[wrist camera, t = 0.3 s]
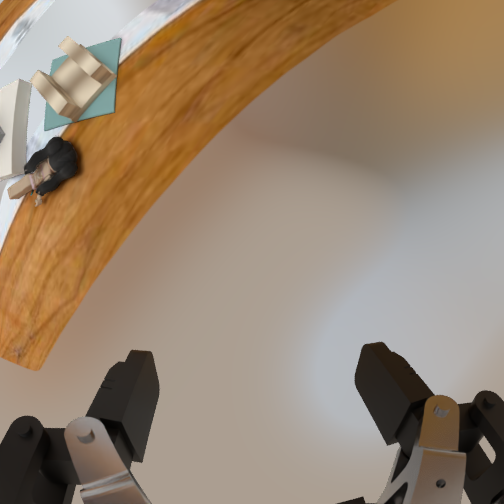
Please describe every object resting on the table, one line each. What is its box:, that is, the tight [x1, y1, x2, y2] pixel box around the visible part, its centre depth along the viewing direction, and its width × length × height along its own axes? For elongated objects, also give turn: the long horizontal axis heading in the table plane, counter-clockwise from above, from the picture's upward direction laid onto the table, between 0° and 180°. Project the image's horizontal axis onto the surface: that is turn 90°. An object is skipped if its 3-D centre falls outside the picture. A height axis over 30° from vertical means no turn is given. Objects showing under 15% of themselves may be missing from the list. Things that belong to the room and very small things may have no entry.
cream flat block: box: [0, 79, 32, 181], centre depth 27 cm, size 16×10×4 cm, turn 2°
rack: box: [30, 36, 117, 122], centre depth 26 cm, size 10×9×6 cm
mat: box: [44, 38, 121, 131], centre depth 29 cm, size 13×13×1 cm
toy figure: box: [8, 137, 78, 206], centre depth 30 cm, size 7×6×15 cm
